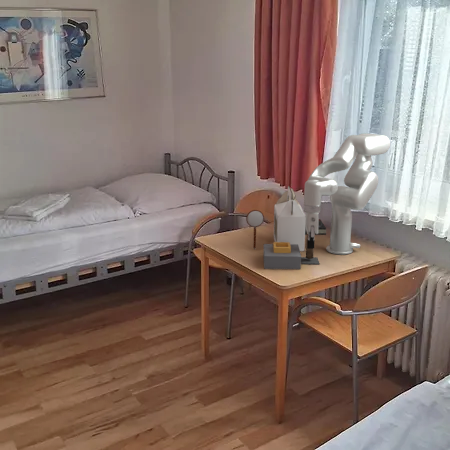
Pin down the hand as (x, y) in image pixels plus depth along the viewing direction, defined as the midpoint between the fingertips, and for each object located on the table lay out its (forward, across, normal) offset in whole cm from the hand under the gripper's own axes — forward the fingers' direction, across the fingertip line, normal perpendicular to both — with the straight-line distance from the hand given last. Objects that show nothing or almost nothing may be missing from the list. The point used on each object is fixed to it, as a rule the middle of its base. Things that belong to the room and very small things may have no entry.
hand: (310, 246), depth 248 cm
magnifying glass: (+7, +15, +25) cm, 30 cm away
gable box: (+7, +24, +8) cm, 26 cm away
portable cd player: (+8, +47, -4) cm, 48 cm away
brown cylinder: (+5, 0, 0) cm, 5 cm away
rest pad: (+7, 0, 0) cm, 7 cm away
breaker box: (+7, -2, +13) cm, 15 cm away
